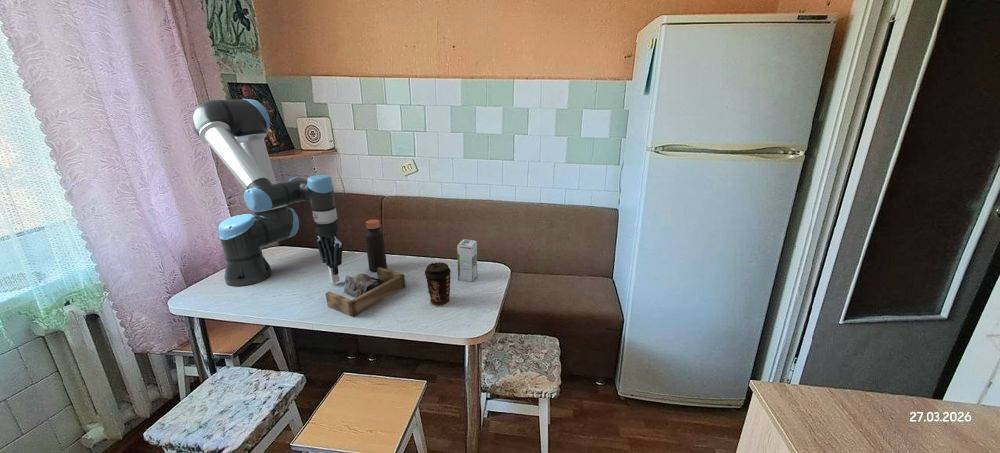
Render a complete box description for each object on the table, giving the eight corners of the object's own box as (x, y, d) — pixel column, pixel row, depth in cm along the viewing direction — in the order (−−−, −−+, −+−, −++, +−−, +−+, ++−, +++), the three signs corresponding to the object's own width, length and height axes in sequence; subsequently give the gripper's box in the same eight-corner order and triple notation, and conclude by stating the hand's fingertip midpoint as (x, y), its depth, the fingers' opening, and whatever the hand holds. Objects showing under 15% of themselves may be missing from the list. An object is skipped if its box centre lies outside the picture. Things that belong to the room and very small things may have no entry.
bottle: (386, 272, 154) (381, 223, 147) (368, 273, 152) (362, 224, 146) (387, 264, 160) (382, 218, 154) (369, 266, 159) (364, 219, 152)
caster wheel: (386, 293, 143) (370, 303, 133) (359, 283, 145) (342, 293, 136) (389, 277, 141) (374, 285, 132) (362, 267, 144) (345, 275, 134)
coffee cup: (430, 294, 137) (427, 260, 132) (453, 295, 136) (452, 260, 132) (424, 308, 129) (421, 272, 124) (450, 308, 128) (448, 272, 124)
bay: (327, 306, 130) (325, 293, 128) (381, 279, 148) (379, 267, 147) (353, 317, 124) (351, 303, 122) (405, 287, 142) (404, 274, 140)
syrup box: (463, 273, 152) (461, 238, 147) (477, 275, 151) (476, 240, 146) (457, 280, 147) (456, 244, 142) (472, 282, 145) (471, 245, 141)
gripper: (304, 220, 136) (314, 281, 144) (328, 227, 130) (337, 290, 138) (323, 214, 142) (332, 273, 150) (347, 220, 136) (355, 282, 144)
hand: (334, 281), depth 144 cm, fingers closed
